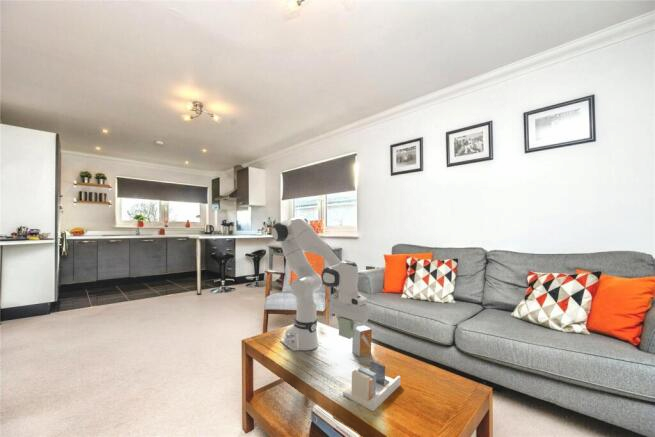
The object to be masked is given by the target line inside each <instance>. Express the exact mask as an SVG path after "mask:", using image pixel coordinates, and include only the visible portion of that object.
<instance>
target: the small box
mask: <svg viewBox="0 0 655 437" xmlns="http://www.w3.org/2000/svg"><path fill="white" fill-rule="evenodd" d="M372 331H373V330H372V328H371V327H369V326H366V325H359V326H358V325H357V326H356V330H355V336H354V337H353V338H352V343H351V344H352V347H351V348H352V349H351V353H352V354H355V356H357V357H359V358H360V357H363V356H367V355H370V354H371V353H372Z"/></svg>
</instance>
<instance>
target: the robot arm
mask: <svg viewBox="0 0 655 437" xmlns="http://www.w3.org/2000/svg"><path fill="white" fill-rule="evenodd" d="M271 235H272V237H273V238H272V239H274V240H275V241H276V242H280V245H281V250H282V253H283V255H284V258H285V260H286V262H287V265H288V268H289V270H290V271H292V272H293V273H295V275H296V276H297V277H296V278H295V279H294V280H293V281H292V282H291V283H290V291H291V294H292V295H293V296H294V298H295V303H296V304H295V305H296V317H295V318H294V319H293V322H294V323H293V325H291V326H290V327H289V328H287V329H286V330H285V334H284V336H283V337H281V338H280V342H281V343H282V344H284V345H285V346H287V347H288V348H289V349H290V350H291V351H295V352H296V351H311V350H315V349H317V347H318V346H319V342H318V341H319V339H318V334H317V333H318V332H317V330H318V329H317V326H318V319H317V304H316V303H315V300H314V293H316V292H317V291H319V290H320V288H321V287H322V285H324V286H325V287H327V288H334V287H335V288H336V287H337V288H338V294H337V293H335V292H334V293H331V294H330V295H329V303H328V312H329V314H332V315H335V317H336V320H337V321H338V322H337V325H338V326H339V317H344V318H348V319H351V320H353V322H354V325H352V326H351V329H352V330H356V327H358V324H359V323H361V324H364V323H366V322H368V321H369V307H368V304H367V303H368V298H366V297H365V296H364V295H362V294H360V293H359V289H358V284H359V269H358V268H359V267H358V265H357V263H356V262H354V261H351V260H346V259H345V260H342V259H341V258H340V257H339V255H338V253H336V252H335V251H334V250H333V248H332V247H331V246H330V245H328V244H327V242H326V241H324V240H323V239H322V237H320V235H319V234H318V233H317V232H316V231H315V229H314V228H313V227H312V225H311V224H310V223H309V221H308V220H307V218H306V217H304V216H296V217H292V218H288V219H285V220H282V221H281V222H277V223H274V224H273V225H272V226H271ZM305 252H306V253H308V254H309V253H310V254H314V255H318V256H320V257H321V258H323V259H325V261H326V262H327V263H328V265H330V266H327V267H324V268H323V270H322V271H321V275H320V274H319V273H317V271H316V270H315V269H314V268H313V266H312V265H311V263H310V262H309V260H308V258H307V256H306V254H305Z"/></svg>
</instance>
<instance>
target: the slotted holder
mask: <svg viewBox="0 0 655 437" xmlns="http://www.w3.org/2000/svg"><path fill="white" fill-rule="evenodd" d="M400 386H401V376H400V375H397V376H395V378H392V377H390V376H388V375H387V376H386V365H383V364H381V363H378V362H375V361H373V360H369V369H367V368H365V367H362V366H360V367H359V368H358V369H357V370H356V369H354V370H353V371H352V372H351V385H349V386H347V387H346V388H345V389H344V390H342V395H343V396H344V397H347V398H348V399H350V400H352V401H354V402H355V403H357V404H359V405H361V406H363V407H364V408H366V409H369V410H370V411H372V412H374V411H375V410H376V409H378V407H380V405H382V403H384V402H385V401H386V400H387V398H389V397H390V396H391V395H392V394H393V393H394V392H395V391H396V390H397V389H398V388H399V387H400Z"/></svg>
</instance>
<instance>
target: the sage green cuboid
mask: <svg viewBox="0 0 655 437" xmlns="http://www.w3.org/2000/svg"><path fill="white" fill-rule="evenodd" d="M352 325H354V322H353V320H351V319H348V318H344V317H339V325H338V336H340V337H342V338H346V339H348V340H351V339H353V337H354V336H355V330H352V329H351V326H352Z"/></svg>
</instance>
